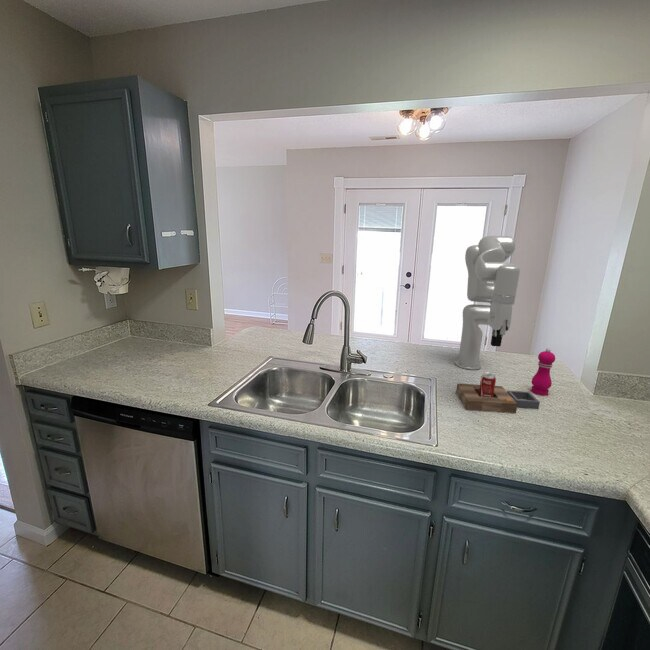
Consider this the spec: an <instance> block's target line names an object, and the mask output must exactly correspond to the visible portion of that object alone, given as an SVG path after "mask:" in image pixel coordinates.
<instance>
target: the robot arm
mask: <svg viewBox="0 0 650 650" xmlns="http://www.w3.org/2000/svg"><path fill="white" fill-rule="evenodd" d="M515 249H516V242H515V239H514V238H513V237H512V236H510V235H509V236H508V235H487V236H484V237H482V238H481V239H480V240H479V242H478V244H473V245H470V246H468V247H467V248H466V250H465V254H464V256H465V257H464V260H465V265H466V269H467V287H466V288H467V290H466V291H467V293H466V298H467V300H468V301H470V302H473V304H472V303H471V304H467V305H465V306H464V307H463V310H462V328H461V329H462V330H461V337H460V346H459V354H458V358H457V359H455V360H454V364H455V365H456V366H457V367H458V368H461V369H464V370H471V371H473V370H474V371H475V370H479V369H482V364H481V363H480V362H479V361H480V354H481V348H482V347H481V346H482V342H483V341H482V340H483V331H482V329H481V328H480V327H479V325H481V326H482V325H487V326H489V327H490V328H491V338H490V339H491V340H490V345H491V346H492V347H501V346H502V339H503V337H504V336H505V335H506V332H507V331H509V330H510V327H511V322H512V314H513V313H512V312H513V305H515V301H516V297H517V290H518V286H519V285H518V284H519V278H520V275H521V274H520V273H521V268H520V267H519V266H517V264H515V263H513V262H506V260H508V259H509V258H510V257H511V256H512V255H513V254H514V252H515ZM474 303H487V304H488V305H487V304H474ZM489 304H490V305H489Z"/></svg>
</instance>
